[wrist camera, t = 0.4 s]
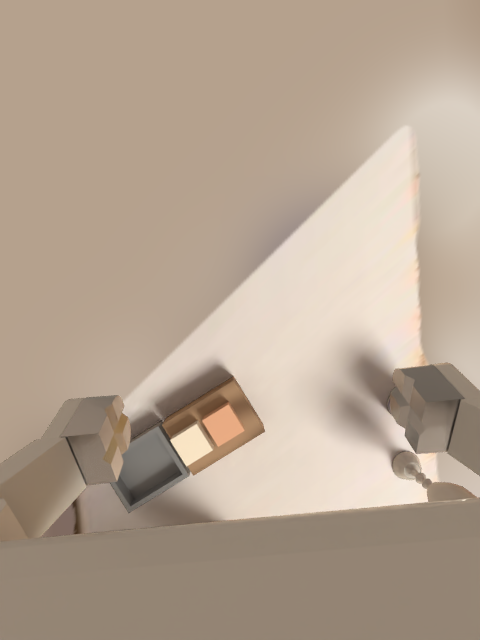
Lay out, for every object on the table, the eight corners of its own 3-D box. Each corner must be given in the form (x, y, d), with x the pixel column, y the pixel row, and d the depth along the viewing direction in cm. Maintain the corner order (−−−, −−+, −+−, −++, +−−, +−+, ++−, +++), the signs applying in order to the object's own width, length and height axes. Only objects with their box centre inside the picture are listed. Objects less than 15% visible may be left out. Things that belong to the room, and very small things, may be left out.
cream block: (213, 445, 57) (212, 450, 55) (188, 461, 57) (186, 466, 55) (197, 420, 57) (196, 423, 55) (172, 435, 57) (170, 440, 55)
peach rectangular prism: (244, 426, 57) (244, 430, 55) (218, 442, 57) (218, 447, 55) (228, 401, 57) (228, 404, 55) (203, 417, 57) (201, 420, 55)
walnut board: (263, 423, 61) (264, 431, 57) (196, 465, 61) (193, 475, 57) (233, 376, 61) (233, 380, 57) (166, 417, 61) (161, 424, 57)
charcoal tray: (191, 468, 61) (189, 475, 58) (133, 503, 61) (128, 513, 58) (161, 420, 61) (158, 426, 58) (104, 456, 61) (97, 463, 58)
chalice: (412, 492, 62) (484, 564, 44) (379, 473, 62) (439, 539, 44) (432, 456, 62) (513, 514, 44) (399, 438, 62) (467, 489, 44)
